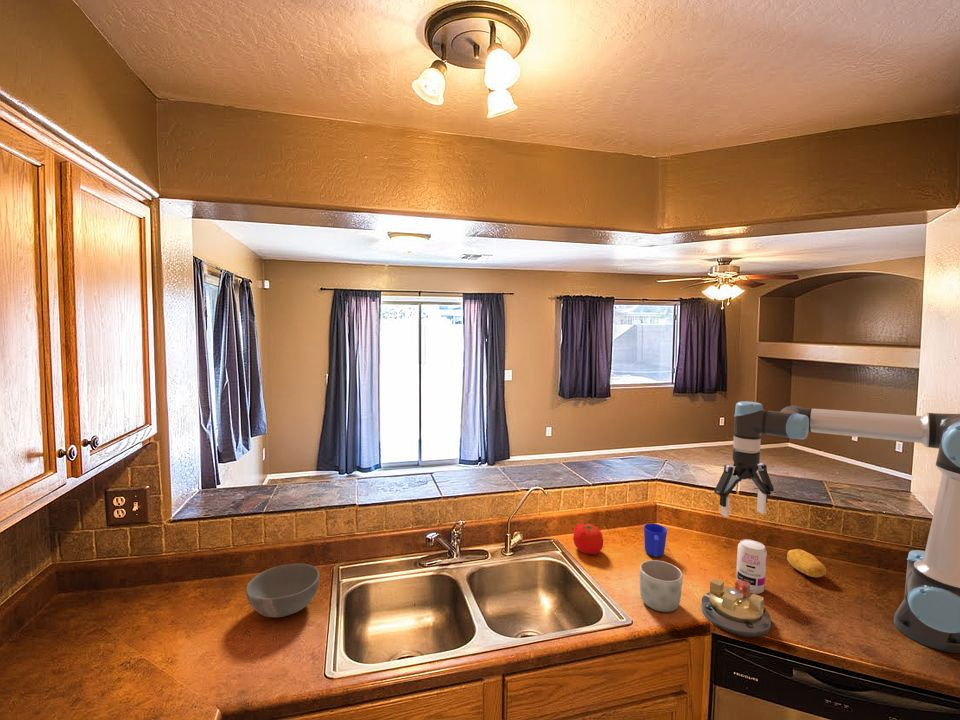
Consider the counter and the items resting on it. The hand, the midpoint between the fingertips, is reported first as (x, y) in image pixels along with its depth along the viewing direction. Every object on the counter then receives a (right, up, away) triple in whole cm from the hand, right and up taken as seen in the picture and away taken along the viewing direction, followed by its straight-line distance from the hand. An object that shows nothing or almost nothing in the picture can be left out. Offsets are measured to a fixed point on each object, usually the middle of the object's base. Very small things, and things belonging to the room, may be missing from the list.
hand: (743, 514), depth 147 cm
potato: (+30, -25, +13) cm, 41 cm away
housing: (-9, -27, -11) cm, 30 cm away
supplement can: (+4, -26, +4) cm, 26 cm away
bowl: (-144, -25, -11) cm, 147 cm away
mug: (-20, -24, +24) cm, 39 cm away
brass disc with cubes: (-9, -24, -12) cm, 28 cm away
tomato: (-44, -23, +27) cm, 57 cm away
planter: (-29, -26, -6) cm, 40 cm away
